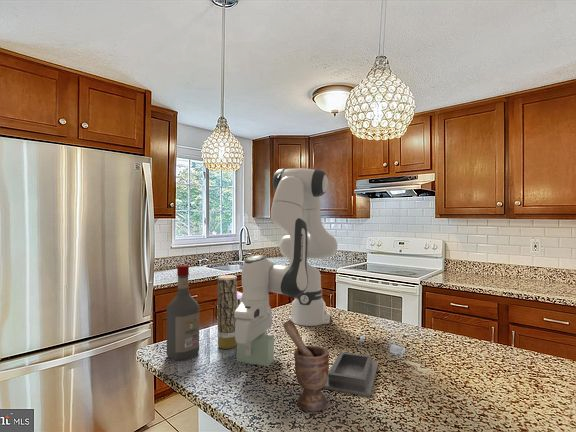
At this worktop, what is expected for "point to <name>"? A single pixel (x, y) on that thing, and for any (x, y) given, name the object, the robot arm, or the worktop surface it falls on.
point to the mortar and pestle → (309, 371)
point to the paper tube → (227, 311)
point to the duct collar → (352, 374)
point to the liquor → (182, 321)
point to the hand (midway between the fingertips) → (255, 349)
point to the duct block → (258, 351)
